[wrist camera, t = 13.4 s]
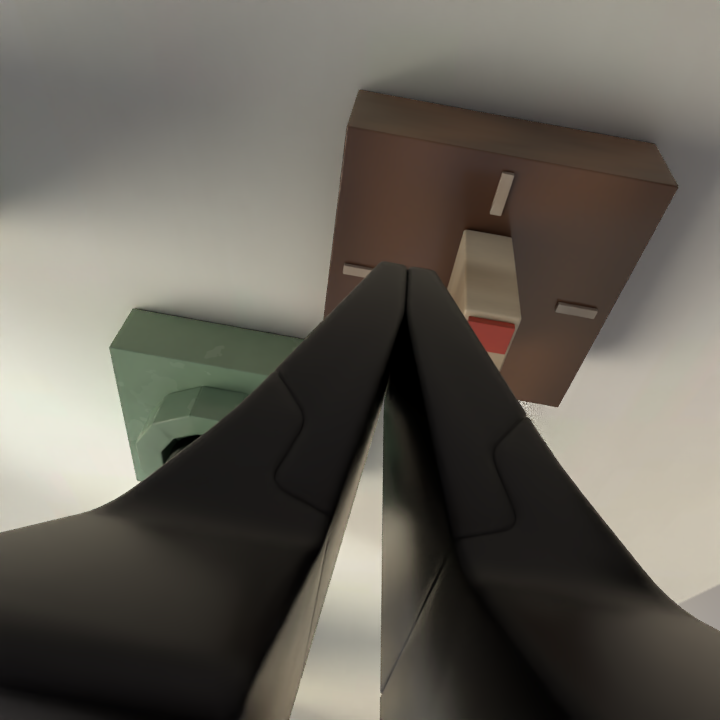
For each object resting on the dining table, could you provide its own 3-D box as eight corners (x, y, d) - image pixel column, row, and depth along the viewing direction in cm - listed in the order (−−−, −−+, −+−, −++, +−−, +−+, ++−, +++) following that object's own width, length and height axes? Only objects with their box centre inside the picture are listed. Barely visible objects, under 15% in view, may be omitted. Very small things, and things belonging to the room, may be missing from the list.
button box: (347, 346, 28) (332, 420, 25) (326, 472, 35) (312, 543, 32) (132, 307, 28) (90, 376, 25) (154, 441, 35) (123, 509, 32)
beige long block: (474, 344, 23) (477, 435, 20) (433, 337, 23) (429, 426, 20) (512, 236, 20) (523, 324, 17) (464, 228, 20) (464, 314, 17)
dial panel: (655, 143, 20) (680, 189, 18) (550, 357, 27) (558, 410, 25) (358, 88, 20) (345, 128, 18) (328, 318, 27) (317, 367, 25)
